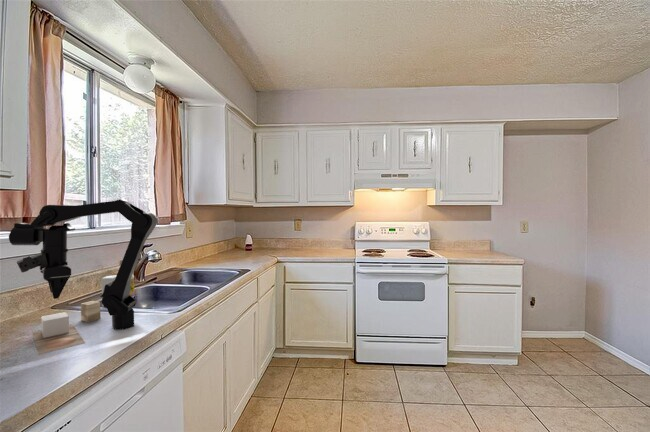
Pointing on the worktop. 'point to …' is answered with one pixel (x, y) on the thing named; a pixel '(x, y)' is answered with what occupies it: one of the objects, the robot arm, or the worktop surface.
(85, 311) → the tan rectangular block
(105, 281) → the skincare box
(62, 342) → the board
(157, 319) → the worktop surface
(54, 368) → the worktop surface
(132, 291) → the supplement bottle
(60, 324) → the block
